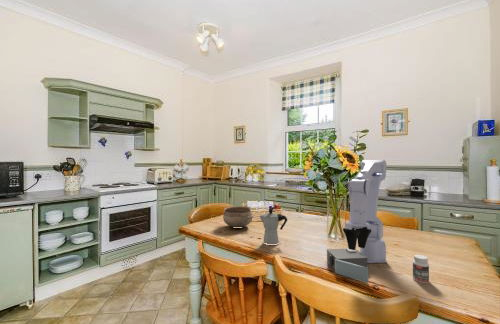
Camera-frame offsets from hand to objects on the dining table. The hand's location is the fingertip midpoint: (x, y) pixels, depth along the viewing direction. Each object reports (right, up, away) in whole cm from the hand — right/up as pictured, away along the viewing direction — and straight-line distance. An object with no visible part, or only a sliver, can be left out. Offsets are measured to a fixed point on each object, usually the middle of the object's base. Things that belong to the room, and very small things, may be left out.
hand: (356, 248), depth 90 cm
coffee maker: (-27, -10, +37) cm, 47 cm away
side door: (-3, -10, -2) cm, 10 cm away
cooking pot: (-47, -11, +67) cm, 83 cm away
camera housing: (-1, -10, +8) cm, 13 cm away
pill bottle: (+21, -10, -4) cm, 24 cm away
